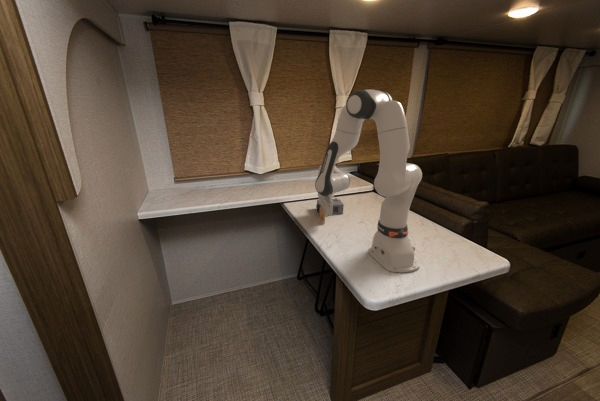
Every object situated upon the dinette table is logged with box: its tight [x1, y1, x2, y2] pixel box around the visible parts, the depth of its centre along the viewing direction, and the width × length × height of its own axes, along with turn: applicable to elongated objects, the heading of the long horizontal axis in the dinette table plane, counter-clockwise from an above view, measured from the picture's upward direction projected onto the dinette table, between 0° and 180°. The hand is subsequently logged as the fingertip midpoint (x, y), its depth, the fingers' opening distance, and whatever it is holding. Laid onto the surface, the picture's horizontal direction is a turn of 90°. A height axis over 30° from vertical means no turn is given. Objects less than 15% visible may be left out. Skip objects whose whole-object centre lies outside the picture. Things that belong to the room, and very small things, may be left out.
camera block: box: [315, 197, 345, 215], centre depth 155 cm, size 10×15×7 cm, turn 97°
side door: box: [318, 207, 326, 224], centre depth 144 cm, size 2×12×5 cm, turn 6°
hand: (325, 215), depth 143 cm, fingers closed
